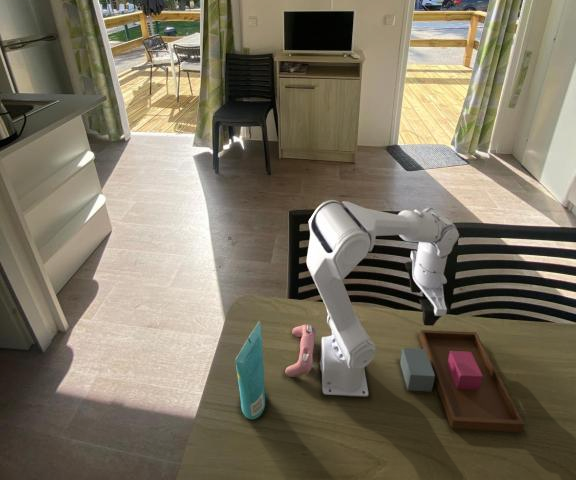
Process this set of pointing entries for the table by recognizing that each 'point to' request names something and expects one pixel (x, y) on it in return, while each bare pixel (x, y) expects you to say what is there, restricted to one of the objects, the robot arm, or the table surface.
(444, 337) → the tray
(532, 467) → the table surface
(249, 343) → the tube
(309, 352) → the video game controller
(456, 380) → the plum block
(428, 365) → the grey block
